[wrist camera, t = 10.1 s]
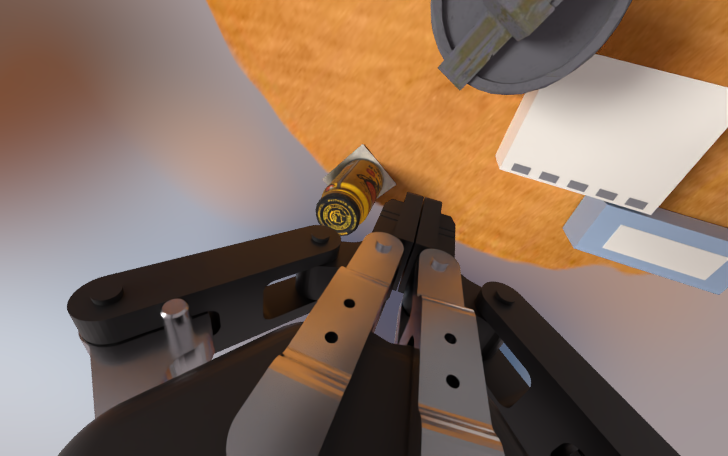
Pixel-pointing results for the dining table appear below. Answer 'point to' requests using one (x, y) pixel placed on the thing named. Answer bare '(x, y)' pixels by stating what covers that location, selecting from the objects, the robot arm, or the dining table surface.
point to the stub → (653, 242)
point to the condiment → (352, 191)
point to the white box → (615, 132)
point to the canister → (519, 40)
